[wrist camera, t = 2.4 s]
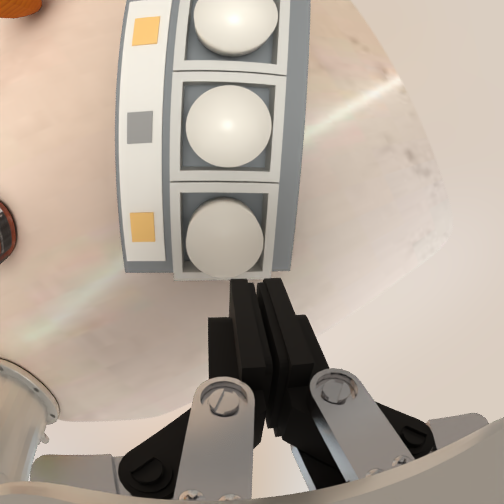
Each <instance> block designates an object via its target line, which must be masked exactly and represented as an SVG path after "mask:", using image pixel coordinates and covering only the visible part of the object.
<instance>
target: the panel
mask: <svg viewBox="0 0 504 504" xmlns="http://www.w3.org/2000/svg"><path fill="white" fill-rule="evenodd" d="M197 1H198V0H127V1H126V7H125V13H124V19H123V26H122V34H121V42H120V51H119V61H118V73H117V88H116V112H115V159H116V184H117V200H118V213H119V224H120V234H121V242H122V251H123V259H124V266H125V273H174V281H202V280H230V279H247V280H262V279H264V278H271V272H272V271H290V266H291V258H292V250H293V241H294V232H295V223H296V214H297V204H298V194H299V184H300V173H301V162H302V150H303V138H304V125H305V111H306V95H307V78H308V59H309V35H310V0H273V1H274V3H275V5H276V7H277V11H278V21H277V24H276V27H275V29H274V31H273V32H272V33H271V35H270V36H269V37H268V39H267V40H266V41H265V43H264V44H263V45H262V46H261V47H260V48H258V49H257V50H255V51H254V52H252V53H249V54H246V55H243V56H234V57H230V56H223V55H219V54H216V53H214V52H212V51H210V50H209V49H207V48H206V47H205V46H204V45H203V44H202V43H201V42H200V40H199V39H198V37H197V34H196V30H195V23H194V9H195V6H196V3H197ZM224 85H235V86H240V87H244V88H246V89H249V90H250V91H252V92H254V93H255V94H256V95H258V96H259V97H260V98H261V99H262V101H263V102H264V103H265V105H266V106H267V108H268V111H269V113H270V117H271V134H270V138H269V141H268V143H267V145H266V147H265V148H264V150H263V151H262V152H261V153H260V154H259V155H258V156H257V157H256V158H255V159H253V160H252V161H250V162H248V163H246V164H244V165H241V166H237V167H219V166H215V165H212V164H210V163H208V162H206V161H204V160H203V159H201V158H200V157H199V156H198V155H197V154H196V153H195V152H194V150H193V149H192V147H191V146H190V143H189V141H188V138H187V134H186V120H187V115H188V113H189V110H190V108H191V106H192V105H193V103H194V102H195V101H196V100H197V99H198V98H199V97H200V96H201V95H202V94H203V93H205V92H206V91H208V90H210V89H212V88H215V87H218V86H224ZM219 197H229V198H234V199H236V200H239V201H241V202H243V203H244V204H246V205H247V206H248V207H249V208H250V209H251V211H252V212H253V214H254V215H255V217H256V219H257V221H258V223H259V225H260V227H261V230H262V233H263V249H262V253H261V255H260V257H259V259H258V260H257V262H256V263H255V264H254V265H253V266H252V267H251V268H250V269H249V270H248V271H246V272H244V273H243V274H240V275H238V276H235V277H230V278H217V277H213V276H210V275H207V274H205V273H203V272H202V271H200V270H199V269H198V268H197V267H196V266H195V265H194V264H193V263H192V261H191V260H190V258H189V256H188V253H187V249H186V237H187V231H188V225H189V221H190V218H191V216H192V214H193V213H194V212H195V210H196V209H197V208H198V207H199V206H200V205H201V204H203V203H205V202H206V201H208V200H211V199H214V198H219Z"/></svg>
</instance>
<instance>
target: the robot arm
mask: <svg viewBox="0 0 504 504" xmlns="http://www.w3.org/2000/svg"><path fill="white" fill-rule="evenodd" d="M208 353H209V380H207V381H205V382H203V383H202V384H201V385H200V386H199V387H198V388H197V390H196V392H195V394H194V398H193V402H192V407H191V408H190V409H189V410H188V411H186V412H185V413H184V414H182V415H181V416H180V417H178V418H177V419H175V420H174V421H173V422H171V423H170V424H168V425H167V426H166V427H165V428H163V429H162V430H160V431H159V432H157V433H156V434H154V435H153V436H151V437H150V438H149V439H147V440H146V441H144V442H143V443H141V444H140V445H138V446H137V447H135V448H134V449H132V450H131V451H129V452H128V453H127V454H126V455H125V456H121V457H112V455H111V454H104V455H43V456H41V457H39V458H37V459H36V460H35V462H34V463H33V459H34V456H35V452H36V449H37V445H39V444H40V442H41V441H42V442H43V443H48V442H49V438H48V437H47V435H46V434H45V433H44V431H45V428H46V425H47V424H53V423H54V422H56V420H57V419H58V416H59V413H60V412H59V406H58V404H57V402H56V400H55V398H54V397H53V396H52V394H51V393H50V392H49V391H48V389H47V388H46V387H45V386H44V385H43V384H42V383H40V382H39V381H38V380H37V379H36V378H35V377H33V376H32V375H31V374H29V373H28V372H26V371H25V370H23V369H22V368H20V367H18V366H17V365H15V364H13V363H10V362H8V361H5V360H2V359H0V504H504V417H503V418H501V419H499V420H496V421H494V422H492V423H490V424H489V423H488V421H487V420H486V418H484V417H483V416H482V415H480V414H477V413H469V414H464V415H459V416H453V417H446V418H440V419H432V420H428V422H427V423H424V422H422V421H420V420H418V419H416V418H414V417H411V416H409V415H406V414H404V413H401V412H399V411H396V410H394V409H391V408H389V407H387V406H384V405H382V404H380V403H377V402H375V401H374V400H373V399H372V397H371V396H370V394H369V393H368V391H367V390H366V389H365V387H364V386H363V384H362V383H361V381H359V379H358V378H357V377H356V376H355V375H353V374H352V373H350V372H348V371H345V370H342V369H335V368H331V369H329V366H328V364H327V362H326V359H325V357H324V355H323V352H322V350H321V348H320V345H319V343H318V341H317V339H316V336H315V334H314V332H313V329H312V327H311V325H310V323H309V320H308V318H307V317H306V315H295V312H294V310H293V307H292V305H291V302H290V300H289V297H288V295H287V292H286V290H285V287H284V285H283V282H282V280H281V278H264V280H263V283H258V284H257V294H256V292H255V287H254V284H253V283H248V281H247V279H230V303H229V317H218V318H208ZM265 418H266V423H267V427H268V428H274V433H275V437H279V436H282V439H283V440H284V441H286V442H287V443H289V444H291V450H292V453H293V455H294V458H295V460H296V462H297V464H298V466H299V469H300V471H301V473H302V475H303V478H304V480H305V482H306V484H307V486H308V488H309V491H308V492H302V493H296V494H290V495H283V496H276V497H268V498H258V499H251V495H252V468H253V466H252V465H253V449H254V448H255V447H256V446H257V445H258V444H259V443H260V442H261V437H262V431H263V426H264V421H265ZM32 463H33V464H32ZM30 470H31V471H30ZM29 474H30V481H28V478H29Z"/></svg>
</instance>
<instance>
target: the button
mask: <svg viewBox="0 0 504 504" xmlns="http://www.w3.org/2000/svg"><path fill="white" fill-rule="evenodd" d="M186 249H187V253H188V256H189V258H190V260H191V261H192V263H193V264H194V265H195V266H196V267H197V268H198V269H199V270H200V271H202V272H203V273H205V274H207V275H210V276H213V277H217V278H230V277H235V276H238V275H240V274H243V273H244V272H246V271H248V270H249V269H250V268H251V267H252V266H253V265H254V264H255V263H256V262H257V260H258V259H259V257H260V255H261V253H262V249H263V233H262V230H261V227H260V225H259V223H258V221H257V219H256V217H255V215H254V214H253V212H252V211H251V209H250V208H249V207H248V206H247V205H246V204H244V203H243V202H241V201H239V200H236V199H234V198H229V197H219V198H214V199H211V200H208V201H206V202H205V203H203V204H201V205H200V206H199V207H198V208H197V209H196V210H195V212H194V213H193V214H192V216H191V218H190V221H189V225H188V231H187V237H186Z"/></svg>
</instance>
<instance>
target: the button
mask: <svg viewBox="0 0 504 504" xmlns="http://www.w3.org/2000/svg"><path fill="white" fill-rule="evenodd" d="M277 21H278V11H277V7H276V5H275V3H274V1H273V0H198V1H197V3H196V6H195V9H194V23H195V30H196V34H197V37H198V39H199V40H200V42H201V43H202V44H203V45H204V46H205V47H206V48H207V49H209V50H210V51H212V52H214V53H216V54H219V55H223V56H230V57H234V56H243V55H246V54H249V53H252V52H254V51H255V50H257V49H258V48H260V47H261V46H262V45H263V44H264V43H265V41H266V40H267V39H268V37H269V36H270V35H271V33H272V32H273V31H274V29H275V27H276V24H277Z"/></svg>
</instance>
